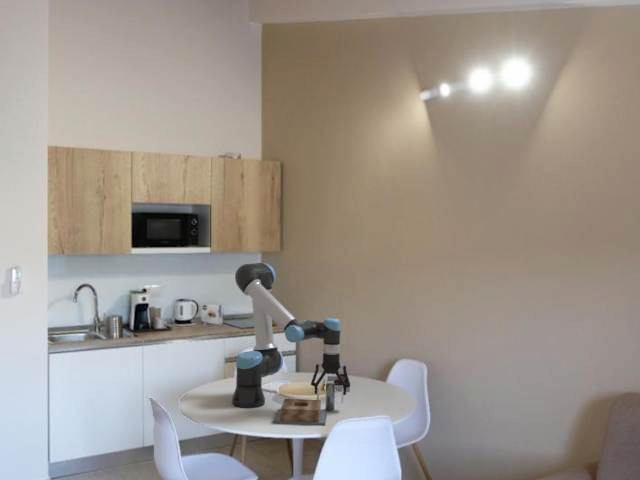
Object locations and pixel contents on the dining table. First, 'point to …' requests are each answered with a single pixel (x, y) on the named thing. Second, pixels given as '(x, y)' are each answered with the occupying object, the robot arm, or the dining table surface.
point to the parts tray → (338, 388)
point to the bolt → (337, 381)
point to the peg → (330, 396)
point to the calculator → (274, 386)
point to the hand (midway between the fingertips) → (330, 401)
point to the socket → (301, 412)
